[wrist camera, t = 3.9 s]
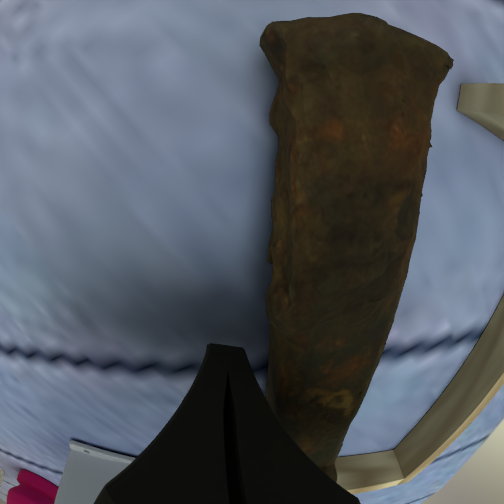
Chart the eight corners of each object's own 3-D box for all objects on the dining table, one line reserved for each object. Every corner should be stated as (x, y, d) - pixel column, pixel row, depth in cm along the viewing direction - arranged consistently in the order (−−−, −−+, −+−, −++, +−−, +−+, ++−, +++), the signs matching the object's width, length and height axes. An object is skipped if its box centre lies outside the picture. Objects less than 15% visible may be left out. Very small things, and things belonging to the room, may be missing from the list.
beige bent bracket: (295, 466, 18) (300, 500, 15) (461, 83, 8) (514, 84, 6) (397, 454, 19) (407, 482, 16) (557, 162, 10) (594, 177, 7)
